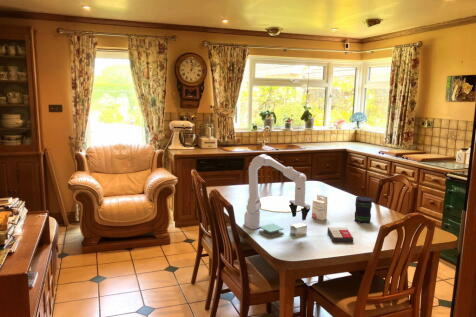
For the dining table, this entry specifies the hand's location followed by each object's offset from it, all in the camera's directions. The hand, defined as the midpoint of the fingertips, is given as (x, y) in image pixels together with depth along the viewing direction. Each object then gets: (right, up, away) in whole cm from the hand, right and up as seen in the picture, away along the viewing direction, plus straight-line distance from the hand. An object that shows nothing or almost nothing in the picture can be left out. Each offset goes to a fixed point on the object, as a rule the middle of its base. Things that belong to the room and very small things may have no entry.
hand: (299, 218), depth 220 cm
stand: (-16, -9, +1) cm, 18 cm away
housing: (0, -9, +2) cm, 9 cm away
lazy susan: (-4, 0, +61) cm, 61 cm away
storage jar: (+44, -6, +25) cm, 51 cm away
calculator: (+22, -11, -4) cm, 25 cm away
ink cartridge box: (+18, -5, +30) cm, 35 cm away
